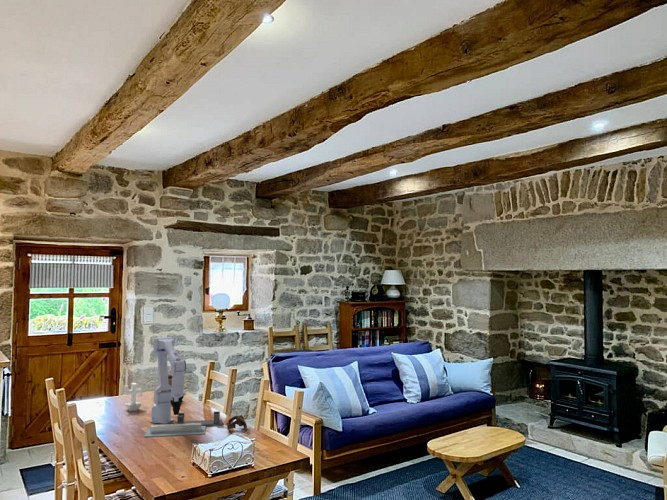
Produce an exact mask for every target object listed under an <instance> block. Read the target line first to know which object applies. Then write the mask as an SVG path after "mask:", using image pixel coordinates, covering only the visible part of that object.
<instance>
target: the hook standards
mask: <svg viewBox="0 0 667 500" xmlns="http://www.w3.org/2000/svg"><path fill="white" fill-rule="evenodd" d="M220 412H221V411H213V419H207V420H205V419H204V420H203V419H202V420H186V421H185V412H179V414H178V415H177V418H176V419H177V421H174V424H185V423H201V426H206V427H217V426H219V425H220V426H219V427H221V426H223V419H220V418H221V416H220V415H221V413H220Z"/></svg>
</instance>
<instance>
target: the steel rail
mask: <svg viewBox="0 0 667 500" xmlns="http://www.w3.org/2000/svg"><path fill="white" fill-rule="evenodd" d="M149 428H150V433H164V432H184V431H201V423H185V424H175V423H171V424H170V423H166V424H151V425H150V427H149Z"/></svg>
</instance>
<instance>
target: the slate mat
mask: <svg viewBox="0 0 667 500" xmlns="http://www.w3.org/2000/svg"><path fill="white" fill-rule="evenodd" d="M206 427H207V426H201V431H184V432H164V433H150V427H148V428H147V430H146V432H145V434H144V436H143V437H144V438H157V437H175V436H176V437H177V436H193V435H194V436H196V435H197V436H199V434H200V435H205V434H206Z"/></svg>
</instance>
